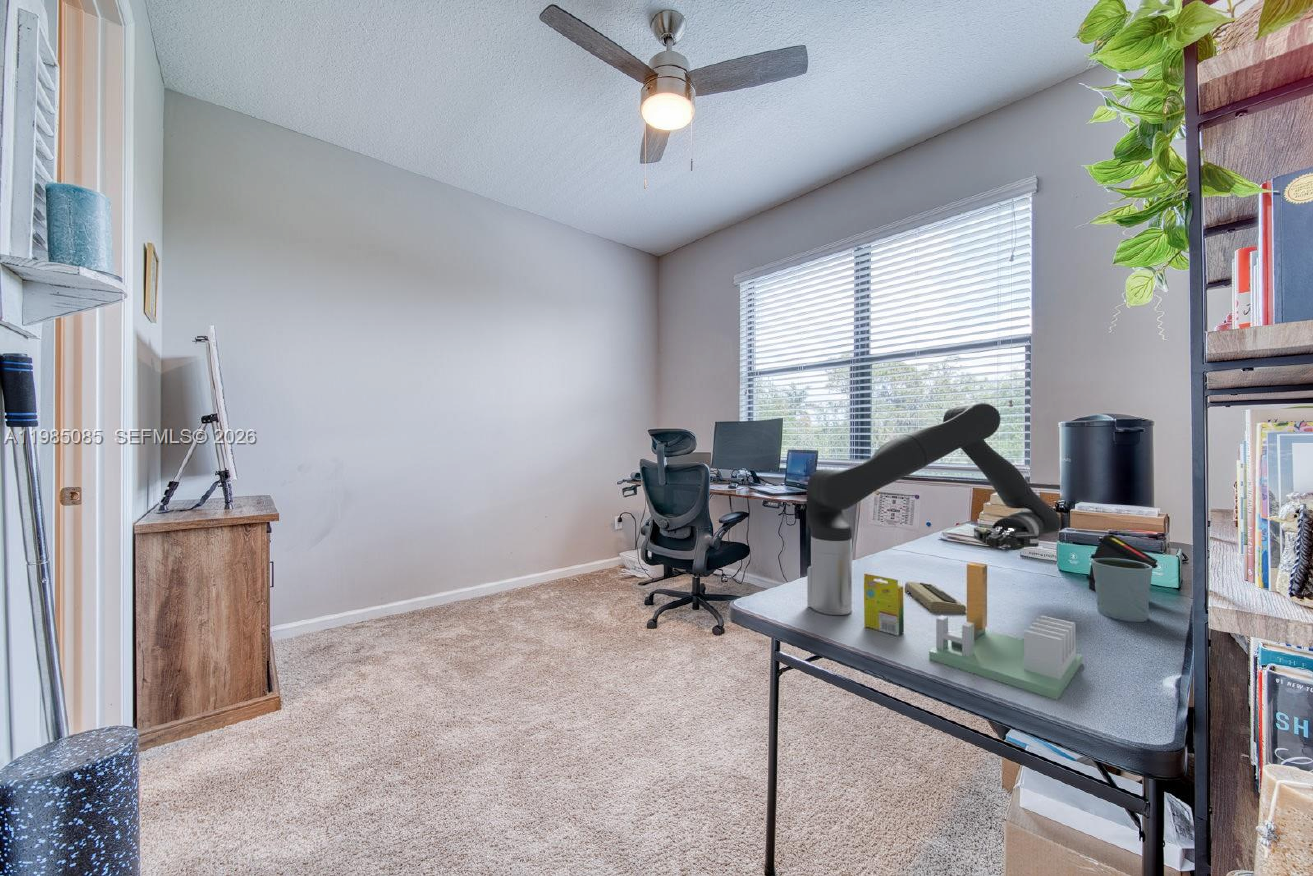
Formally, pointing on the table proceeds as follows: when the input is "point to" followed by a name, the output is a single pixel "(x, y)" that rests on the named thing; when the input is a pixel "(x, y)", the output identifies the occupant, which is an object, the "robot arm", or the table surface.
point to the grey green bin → (1122, 588)
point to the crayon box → (883, 605)
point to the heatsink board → (1014, 654)
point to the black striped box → (1118, 554)
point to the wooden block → (976, 599)
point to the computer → (934, 598)
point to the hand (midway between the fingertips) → (992, 543)
